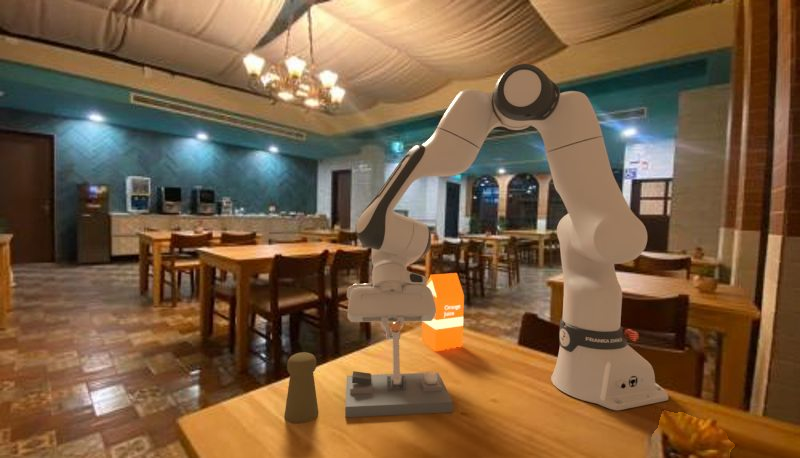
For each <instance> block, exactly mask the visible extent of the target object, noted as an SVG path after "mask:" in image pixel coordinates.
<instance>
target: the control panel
mask: <svg viewBox="0 0 800 458" xmlns="http://www.w3.org/2000/svg"><path fill="white" fill-rule="evenodd" d="M425 373H426V372H416V373H415V372H413V373H400V376H401V378H402V386H401V387H392V376H393V373H389V374H387V373H385V374H384V373H383V374H382V373H381V374H371V384H370V385H365V384H357V383H352V375H346V383H345V408H344V410H345V412H344V413H345V414H344V415H345V417H344V418H362V417H363V418H365V417H384V416H385V417H386V416H403V415H404V416H406V415H422V414H440V413H441V414H445V413H453V411H454V406H453V405H454V401H453V399H452V397H451V394H450V393H449V391H448V389H447V387H446V385H445V383H444V381H443V379H442V377H441V375H440V372H436V373H437V383H436V384H427V383H425V381H424V379H425Z"/></svg>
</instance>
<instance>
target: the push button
mask: <svg viewBox="0 0 800 458" xmlns="http://www.w3.org/2000/svg"><path fill="white" fill-rule="evenodd" d="M424 373H425V379H424V381H425V383H427V384H436V383H437V372H434V371H425V372H424Z"/></svg>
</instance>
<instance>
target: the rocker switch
mask: <svg viewBox="0 0 800 458" xmlns="http://www.w3.org/2000/svg"><path fill="white" fill-rule="evenodd" d="M371 375H372V373H368V372H364V371H362V372H361V371H354V370H353V371H352V375H351V376H352V383H357V384H365V385H370V384H371Z"/></svg>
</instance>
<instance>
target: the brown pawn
mask: <svg viewBox="0 0 800 458" xmlns="http://www.w3.org/2000/svg"><path fill="white" fill-rule="evenodd" d="M286 369H287V370H286V371H287V372H288V374H289V381H288V390H287V394H286V403H285V411H284V418H285V419H284V420H286V421H287V422H289V423H292V424H303V423H308V422H310V421H312V420H314V419H315V418H316V417H317V416H318V415H319V407H318V406H319V405H318V399H317V392H316V383H315V375H314V372H315V371H316V369H317V359H316V356H315V355H314V354H312V353H310V352H305V351H304V352H297V353H294V354H292V355H290V356H289V359H288V360H287V364H286Z"/></svg>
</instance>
